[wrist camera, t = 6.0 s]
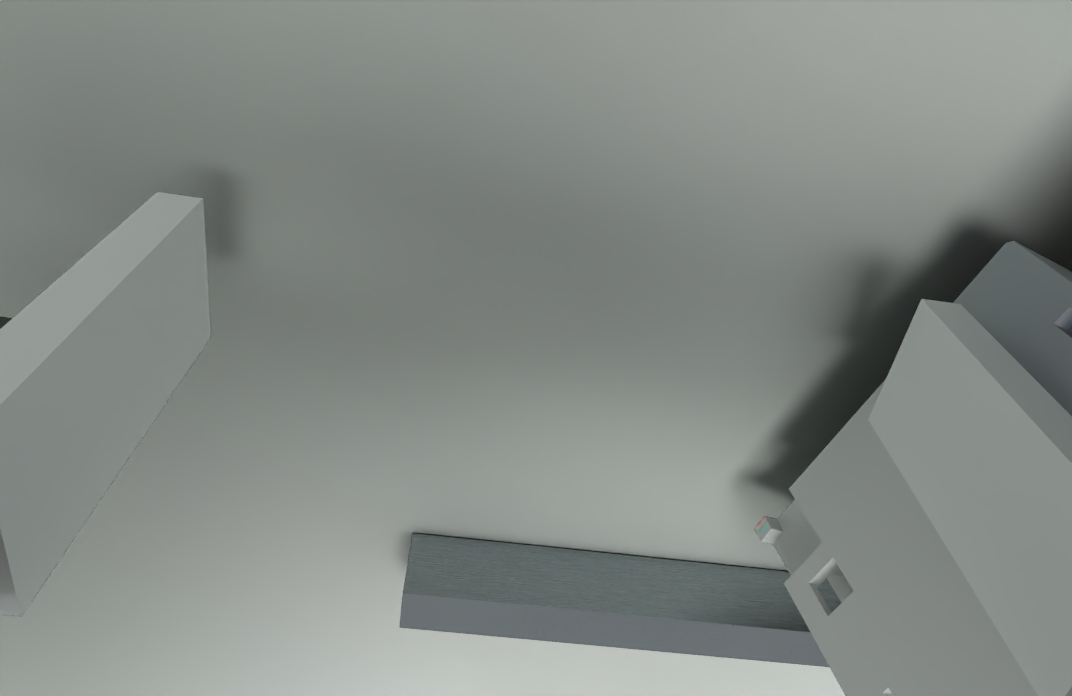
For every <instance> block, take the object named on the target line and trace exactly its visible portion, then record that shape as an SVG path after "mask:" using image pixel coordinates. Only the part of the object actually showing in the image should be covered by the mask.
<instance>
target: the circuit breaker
mask: <svg viewBox="0 0 1072 696" xmlns="http://www.w3.org/2000/svg"><path fill="white" fill-rule="evenodd" d="M953 303H956V304H961V305H962V306H963V307H964V308H965V309H966V310H967V311H968V312H969V313H970V314H971V315H972V316H973V317H974V318H975V319H976V320H977V321H978V322H979V323H980V324H981V325H982V326H983V327H984V328H985V329H986V330H987V331H988V332H989V333H990V334H991V335H992V336H993V337H994V338H995V339H996V340H997V341H998V342H999V343H1000V344H1001V345H1002V346H1003V347H1004V348H1005V349H1006V350H1007V351H1008V352H1009V353H1010V354H1011V355H1012V356H1013V357H1014V358H1015V360H1016V361H1017V362H1018V363H1019V364H1020V365H1021V366H1022V367H1023V368H1024V369H1025V370H1026V371H1027V372H1028V373H1029V374H1030V375H1031V376H1032V377H1033V378H1034V379H1035V380H1036V381H1037V382H1038V383H1039V384H1040V385H1041V386H1042V387H1043V388H1044V389H1045V390H1046V391H1047V392H1048V393H1049V394H1050V395H1051V396H1052V397H1053V398H1054V399H1055V400H1056V401H1057V402H1058V403H1059V404H1060V405H1061V406H1062V407H1063V408H1064V409H1065V410H1066V411H1067V412H1068V413H1069V414H1070V415H1071V416H1072V271H1070V270H1068V269H1066V268H1064V267H1062V266H1060V265H1059V264H1057V263H1055V262H1053V261H1051V260H1049V259H1047V258H1045V257H1043V256H1042V255H1040V254H1038V253H1036V252H1034V251H1032V250H1030V249H1028V248H1027V247H1025V246H1023V245H1021V244H1019V243H1017V242H1015V241H1011V242H1007V243H1005V244H1004V245H1003V247H1002V248H1001V249H1000V250H999V251H998V252H997V253H996V254H995V256H994V257H993V258H992V259H991V260H990V261H989V262H988V264H987V265H986V266H985V267H984V268H983V269H982V270H981V271H980V273H979V274H978V275H977V276H976V277H975V278H974V279H973V280H972V282H971V283H970V284H969V285H968V286H967V287H966V288H965V290H964V291H963V292H962V293H961V294H960V295H959V296H958V297H957V299H956V300H955V301H954V302H953ZM885 380H886V379H885ZM885 380H884V381H883V383H882V384H881V385H880V386H879V387H878V388H877V389H876V390H875V392H874V393H873V394H872V395H871V396H870V397H869V398H868V400H867V401H866V402H865V403H864V404H863V405H862V406H861V407H860V409H859V410H858V411H857V412H856V413H855V414H854V415H853V417H852V418H851V419H850V420H849V421H848V422H847V423H846V425H845V426H844V427H843V428H842V429H841V430H840V431H839V432H838V434H837V435H836V436H835V437H834V438H833V439H832V440H831V442H830V443H829V444H828V445H827V446H826V447H825V448H824V449H823V451H822V452H821V453H820V454H819V455H818V456H817V457H816V459H815V460H814V461H813V462H812V463H811V464H810V465H809V466H808V468H807V469H806V470H805V471H804V472H803V473H802V474H801V476H800V477H799V478H798V479H797V480H796V481H795V482H794V484H793V485H792V486H791V487H790V488H789V491H790V492H791V494H792V495H793V497H794V499H795V500H794V501H793V502H792V503H791V504H790V505H789V506H788V507H787V508H786V510H785V511H784V512H783V513H782V514H781V515H780V516H779V517H778V519H775V518H771V517H767V516H764V518H763V519H762V520H761V521H760V522H759V523H758V524H757V525H756V527H755V528H754V530H755V532H756V534H757V535H758V537H759V539H760V541H761V542H766V543H770V544H773V545H774V546H775V548H776V550H777V552H778V554H779V555H780V557H781V559H782V561H783V562H784V564H785V566H786V568H787V570H788V571H789V573H790V575H791V576H790V577H789V578H788V579H787V580H786V581H785V582H784V585H785V586H786V588H787V590H788V592H789V594H790V595H791V597H792V599H793V601H794V603H795V605H796V606H797V608H798V610H799V612H800V614H801V616H802V617H803V619H804V621H805V623H806V625H807V626H808V628H809V630H810V632H811V634H812V636H813V637H814V639H815V641H816V643H817V645H818V646H819V648H820V650H821V652H822V654H823V656H824V657H825V659H826V661H827V663H828V665H829V667H830V668H831V670H832V672H833V674H834V676H835V677H836V679H837V681H838V683H839V685H840V687H841V688H842V690H843V692H844V694H845V696H1038V695H1037V693H1036V692H1035V690H1034V688H1033V687H1032V685H1031V683H1030V682H1029V680H1028V679H1027V677H1026V675H1025V674H1024V672H1023V670H1022V669H1021V667H1020V666H1019V664H1018V662H1017V661H1016V659H1015V657H1014V656H1013V654H1012V653H1011V651H1010V649H1009V648H1008V646H1007V644H1006V643H1005V641H1004V640H1003V638H1002V636H1001V635H1000V633H999V631H998V630H997V628H996V627H995V625H994V623H993V622H992V620H991V618H990V617H989V615H988V614H987V612H986V610H985V609H984V607H983V605H982V604H981V602H980V601H979V599H978V597H977V596H976V594H975V592H974V591H973V589H972V588H971V586H970V584H969V583H968V581H967V579H966V578H965V576H964V575H963V573H962V571H961V570H960V568H959V566H958V565H957V563H956V562H955V560H954V558H953V557H952V555H951V553H950V552H949V550H948V549H947V547H946V545H945V544H944V542H943V540H942V539H941V537H940V536H939V534H938V532H937V531H936V529H935V527H934V526H933V524H932V523H931V521H930V519H929V518H928V516H927V514H926V513H925V511H924V510H923V508H922V506H921V505H920V503H919V501H918V500H917V498H916V497H915V495H914V493H913V492H912V490H911V488H910V487H909V485H908V484H907V482H906V480H905V479H904V477H903V475H902V474H901V472H900V471H899V469H898V467H897V466H896V464H895V462H894V461H893V459H892V458H891V456H890V454H889V453H888V451H887V449H886V448H885V446H884V445H883V443H882V441H881V440H880V438H879V436H878V435H877V433H876V432H875V430H874V428H873V427H872V425H871V423H870V422H869V420H868V419H869V416H870V414H871V412H872V410H873V407H874V405H875V403H876V401H877V398H878V396H879V394H880V392H881V389H882V387H883V385H884V382H885ZM826 578H827V580H828V581H829V583H830V585H831V586H832V588H833V589H834V591H835V593H836V594H837V596H838V598H839V599H840V601H841V602H842V603H841V604H840V605H839V606H838V607H837V608H836V609H835V610H834V611H833V612H832V613H831V611H830V609H829V608H828V606H827V604H826V603H825V601H824V599H823V597H822V596H821V594H820V592H819V591H818V589H817V587H818V586H819V585H820V584H821V583H822V582H823V581H824V580H825V579H826Z"/></svg>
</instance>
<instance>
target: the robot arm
mask: <svg viewBox="0 0 1072 696" xmlns="http://www.w3.org/2000/svg"><path fill="white" fill-rule="evenodd" d="M210 337H211V329H210V311H209V293H208V275H207V257H206V239H205V221H204V203H203V198H197V197H190V196H183V195H176V194H169V193H162V192H157V193H155V194H154V195H153V196H152V197H151V198H150V199H149V200H147V201H146V202H145V203H144V204H143V205H142V206H141V207H139V208H138V209H137V210H136V211H135V212H134V213H133V214H131V215H130V216H129V217H128V218H127V219H126V220H124V221H123V222H122V223H121V224H120V225H119V226H118V227H116V228H115V229H114V230H113V231H112V232H111V233H110V234H108V235H107V236H106V237H105V238H104V239H103V240H102V241H100V242H99V243H98V244H97V245H96V246H95V247H94V248H92V249H91V250H90V251H89V252H88V253H87V254H86V255H84V256H83V257H82V258H81V259H80V260H79V261H78V262H76V263H75V264H74V265H73V266H72V267H71V268H70V269H68V270H67V271H66V272H65V273H64V274H63V275H62V276H60V277H59V278H58V279H57V280H56V281H55V282H54V283H52V284H51V285H50V286H49V287H48V288H47V289H46V290H44V291H43V292H42V293H41V294H40V295H39V296H38V297H36V298H35V299H34V300H33V301H32V302H31V303H30V304H28V305H27V306H26V307H25V308H24V309H23V310H22V311H20V312H19V313H18V314H17V315H16V316H15V317H14V318H6V317H0V615H11V616H21V617H22V615H23V614H24V612H25V611H26V609H27V608H28V606H29V605H30V603H31V602H32V600H33V599H34V597H35V596H36V594H37V593H38V591H39V590H40V588H41V587H42V586H43V584H44V583H45V581H46V580H47V578H48V577H49V575H50V574H51V572H52V571H53V569H54V568H55V566H56V565H57V563H58V562H59V560H60V559H61V557H62V556H63V555H64V553H65V552H66V550H67V549H68V547H69V546H70V544H71V543H72V541H73V540H74V538H75V537H76V535H77V534H78V532H79V531H80V529H81V528H82V526H83V525H84V523H85V522H86V521H87V519H88V518H89V516H90V515H91V513H92V512H93V510H94V509H95V507H96V506H97V504H98V503H99V501H100V500H101V498H102V497H103V495H104V494H105V492H106V491H107V490H108V488H109V487H110V485H111V484H112V482H113V481H114V479H115V478H116V476H117V475H118V473H119V472H120V470H121V469H122V467H123V466H124V464H125V463H126V461H127V460H128V459H129V457H130V456H131V454H132V453H133V451H134V450H135V448H136V447H137V445H138V444H139V442H140V441H141V439H142V438H143V436H144V435H145V433H146V432H147V430H148V429H149V428H150V426H151V425H152V423H153V422H154V420H155V419H156V417H157V416H158V414H159V413H160V411H161V410H162V408H163V407H164V405H165V404H166V402H167V401H168V399H169V398H170V396H171V395H172V394H173V392H174V391H175V389H176V388H177V386H178V385H179V383H180V382H181V380H182V379H183V377H184V376H185V374H186V373H187V371H188V370H189V368H190V367H191V365H192V364H193V363H194V361H195V360H196V358H197V357H198V355H199V354H200V352H201V351H202V349H203V348H204V346H205V345H206V343H207V342H208V340H209V339H210ZM868 420H869V422H870V423H871V425H872V427H873V428H874V430H875V432H876V433H877V435H878V436H879V438H880V440H881V441H882V443H883V445H884V446H885V448H886V449H887V451H888V453H889V454H890V456H891V458H892V459H893V461H894V462H895V464H896V466H897V467H898V469H899V471H900V472H901V474H902V475H903V477H904V479H905V480H906V482H907V484H908V485H909V487H910V488H911V490H912V492H913V493H914V495H915V497H916V498H917V500H918V501H919V503H920V505H921V506H922V508H923V510H924V511H925V513H926V514H927V516H928V518H929V519H930V521H931V523H932V524H933V526H934V527H935V529H936V531H937V532H938V534H939V536H940V537H941V539H942V540H943V542H944V544H945V545H946V547H947V549H948V550H949V552H950V553H951V555H952V557H953V558H954V560H955V562H956V563H957V565H958V566H959V568H960V570H961V571H962V573H963V575H964V576H965V578H966V579H967V581H968V583H969V584H970V586H971V588H972V589H973V591H974V592H975V594H976V596H977V597H978V599H979V601H980V602H981V604H982V605H983V607H984V609H985V610H986V612H987V614H988V615H989V617H990V618H991V620H992V622H993V623H994V625H995V627H996V628H997V630H998V631H999V633H1000V635H1001V636H1002V638H1003V640H1004V641H1005V643H1006V644H1007V646H1008V648H1009V649H1010V651H1011V653H1012V654H1013V656H1014V657H1015V659H1016V661H1017V662H1018V664H1019V666H1020V667H1021V669H1022V670H1023V672H1024V674H1025V675H1026V677H1027V679H1028V680H1029V682H1030V683H1031V685H1032V687H1033V688H1034V690H1035V692H1036V693H1037V695H1038V696H1072V416H1071V415H1070V414H1069V413H1068V412H1067V411H1066V410H1065V409H1064V408H1063V407H1062V406H1061V405H1060V404H1059V403H1058V402H1057V401H1056V400H1055V399H1054V398H1053V397H1052V396H1051V395H1050V394H1049V393H1048V392H1047V391H1046V390H1045V389H1044V388H1043V387H1042V386H1041V385H1040V384H1039V383H1038V382H1037V381H1036V380H1035V379H1034V378H1033V377H1032V376H1031V375H1030V374H1029V373H1028V372H1027V371H1026V370H1025V369H1024V368H1023V367H1022V366H1021V365H1020V364H1019V363H1018V362H1017V361H1016V360H1015V358H1014V357H1013V356H1012V355H1011V354H1010V353H1009V352H1008V351H1007V350H1006V349H1005V348H1004V347H1003V346H1002V345H1001V344H1000V343H999V342H998V341H997V340H996V339H995V338H994V337H993V336H992V335H991V334H990V333H989V332H988V331H987V330H986V329H985V328H984V327H983V326H982V325H981V324H980V323H979V322H978V321H977V320H976V319H975V318H974V317H973V316H972V315H971V314H970V313H969V312H968V311H967V310H966V309H965V308H964V307H963V306H962V305H961V304H956V303H949V302H942V301H934V300H927V299H921V301H920V303H919V306H918V308H917V310H916V312H915V315H914V317H913V319H912V321H911V324H910V326H909V328H908V330H907V333H906V335H905V337H904V339H903V342H902V344H901V346H900V349H899V351H898V353H897V355H896V358H895V360H894V362H893V364H892V367H891V369H890V371H889V373H888V376H887V378H886V380H885V382H884V385H883V387H882V389H881V392H880V394H879V396H878V398H877V401H876V403H875V405H874V407H873V410H872V412H871V414H870V416H869V419H868Z"/></svg>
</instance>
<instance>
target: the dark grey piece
mask: <svg viewBox="0 0 1072 696" xmlns="http://www.w3.org/2000/svg"><path fill="white" fill-rule="evenodd" d="M790 576H791V575H790V573H789V572H786V571H776V570H766V569H756V568H747V567H737V566H727V565H717V564H707V563H698V562H688V561H678V560H668V559H659V558H649V557H639V556H629V555H620V554H610V553H600V552H590V551H580V550H571V549H561V548H551V547H541V546H532V545H522V544H512V543H502V542H493V541H483V540H473V539H463V538H453V537H444V536H434V535H424V534H414V533H413V535H412V541H411V547H410V553H409V559H408V565H407V571H406V577H405V583H404V589H403V597H402V607H401V617H400V627H401V628H411V629H422V630H433V631H444V632H455V633H466V634H476V635H487V636H498V637H509V638H520V639H531V640H542V641H552V642H563V643H574V644H585V645H596V646H607V647H618V648H628V649H639V650H650V651H661V652H672V653H683V654H693V655H704V656H715V657H726V658H737V659H748V660H759V661H769V662H780V663H791V664H802V665H813V666H824V667H829V665H828V663H827V661H826V659H825V657H824V656H823V654H822V652H821V650H820V648H819V646H818V645H817V643H816V641H815V639H814V637H813V636H812V634H811V632H810V630H809V628H808V626H807V625H806V623H805V621H804V619H803V617H802V616H801V614H800V612H799V610H798V608H797V606H796V605H795V603H794V601H793V599H792V597H791V595H790V594H789V592H788V590H787V588H786V586H785V585H784V582H785V581H786V580H787V579H788V578H789V577H790ZM817 589H818V591H819V592H820V594H821V596H822V597H823V599H824V601H825V603H826V604H827V606H828V608H829V609H830V611H831V613H832V612H833V611H834V610H835V609H836V608H837V607H838V606H839V605H840V604H841V603H842V602H841V601H840V599H839V598H838V596H837V594H836V593H835V591H834V589H833V588H832V586H831V585H830V583H829V581H828V580H827V578H826V579H825V580H824V581H823V582H822V583H821V584H820V585H819V586H818V587H817Z"/></svg>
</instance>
